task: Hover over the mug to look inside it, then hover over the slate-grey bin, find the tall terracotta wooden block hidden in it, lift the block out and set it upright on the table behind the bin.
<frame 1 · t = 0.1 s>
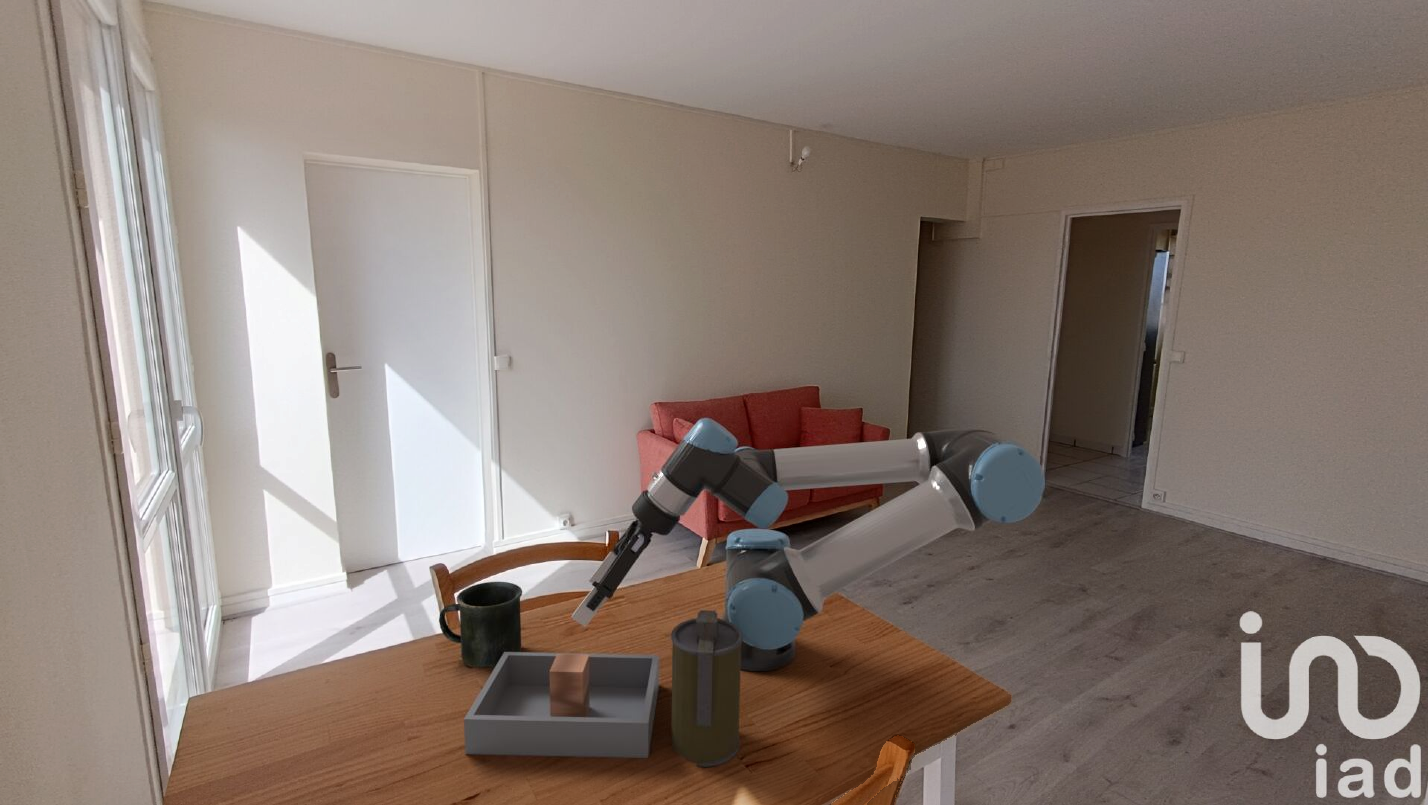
hand: (587, 602, 109), 15 cm above the table, tool tilted 35°, fingers open, 13 cm apart
block: (570, 716, 103), point 1 cm above the table, touching bin
mug: (482, 656, 121), on the table
canister: (704, 745, 98), on the table
bin: (570, 719, 103), on the table
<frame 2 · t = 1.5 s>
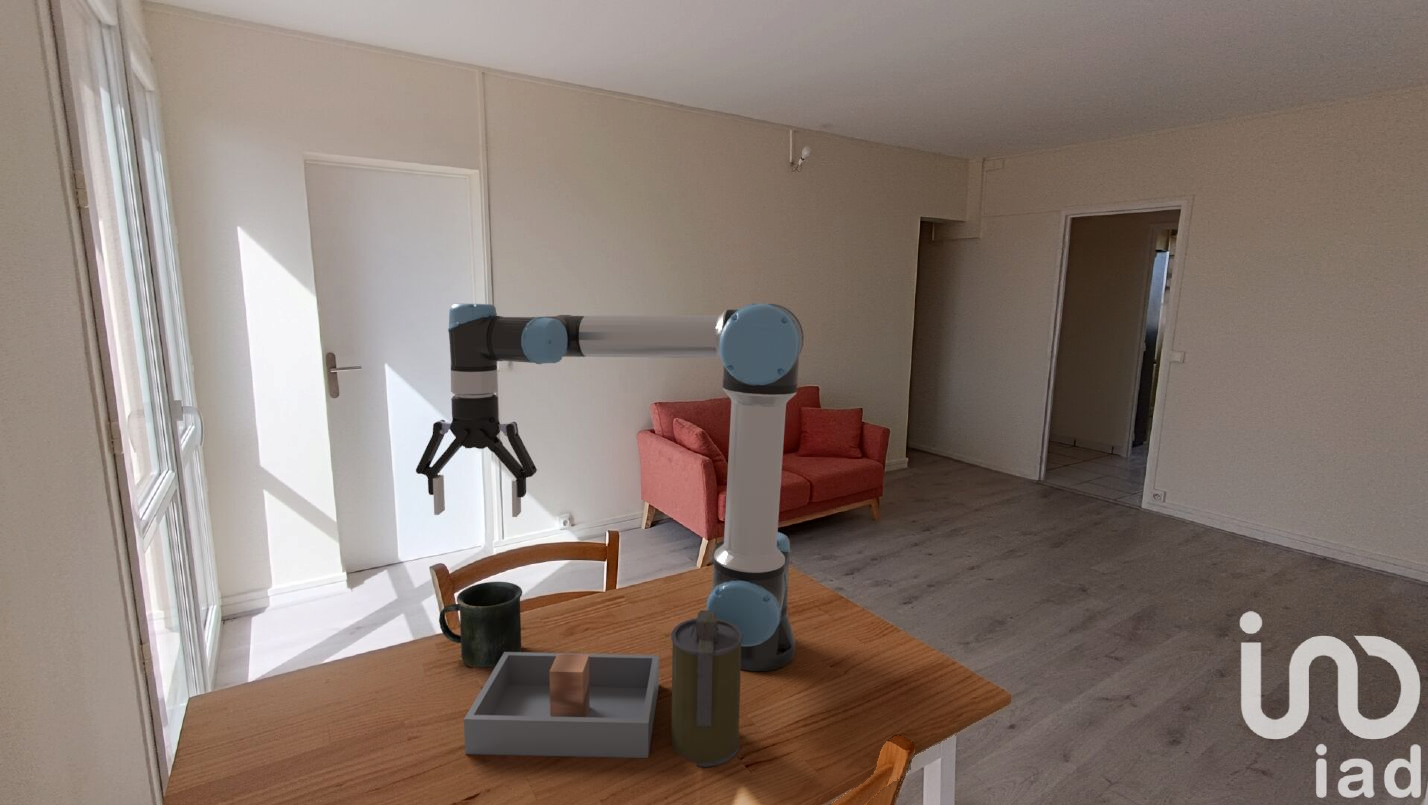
hand: (478, 513, 116), 27 cm above the table, tool pointing down, fingers open, 13 cm apart
nothing on the table moved.
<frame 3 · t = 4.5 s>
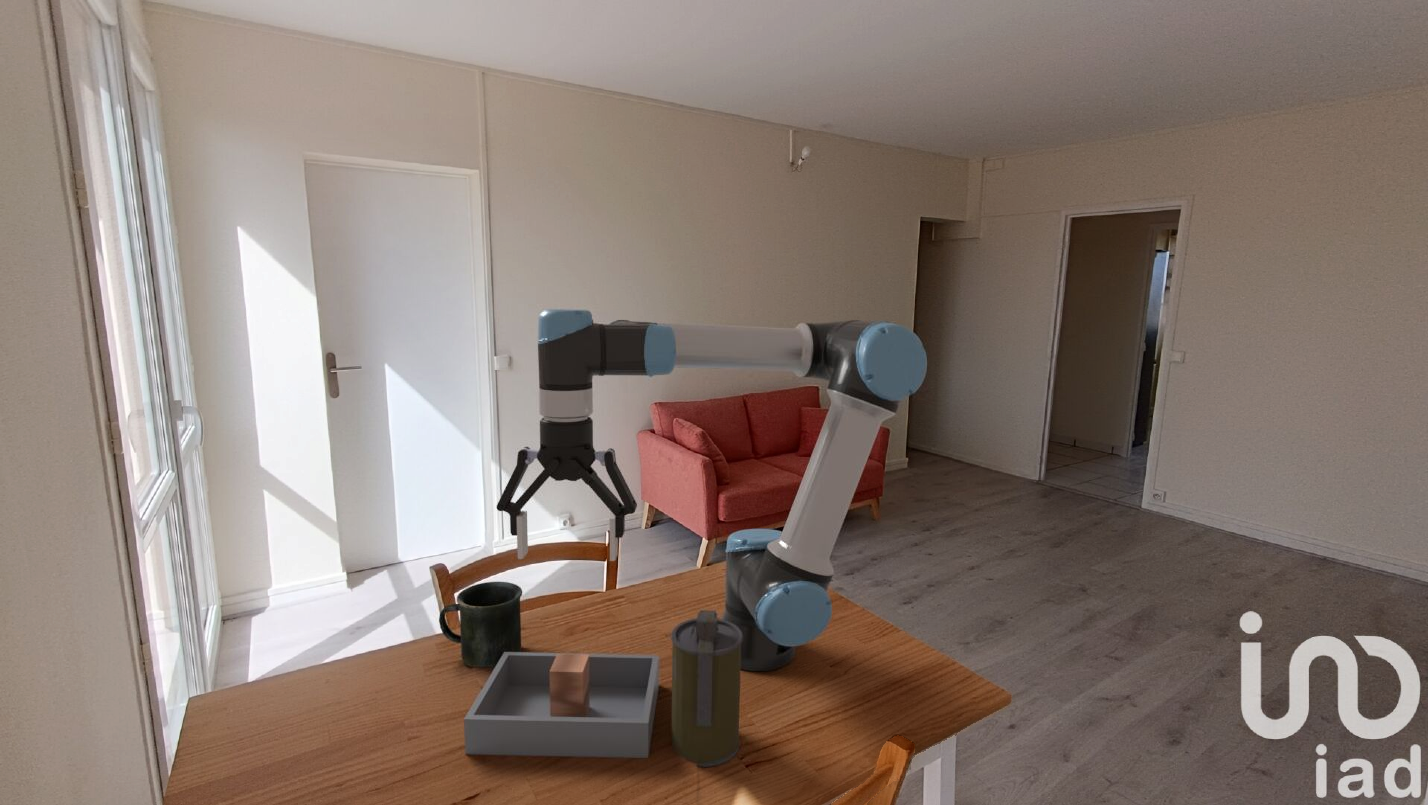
hand: (568, 556, 99), 27 cm above the table, tool pointing down, fingers open, 13 cm apart
nothing on the table moved.
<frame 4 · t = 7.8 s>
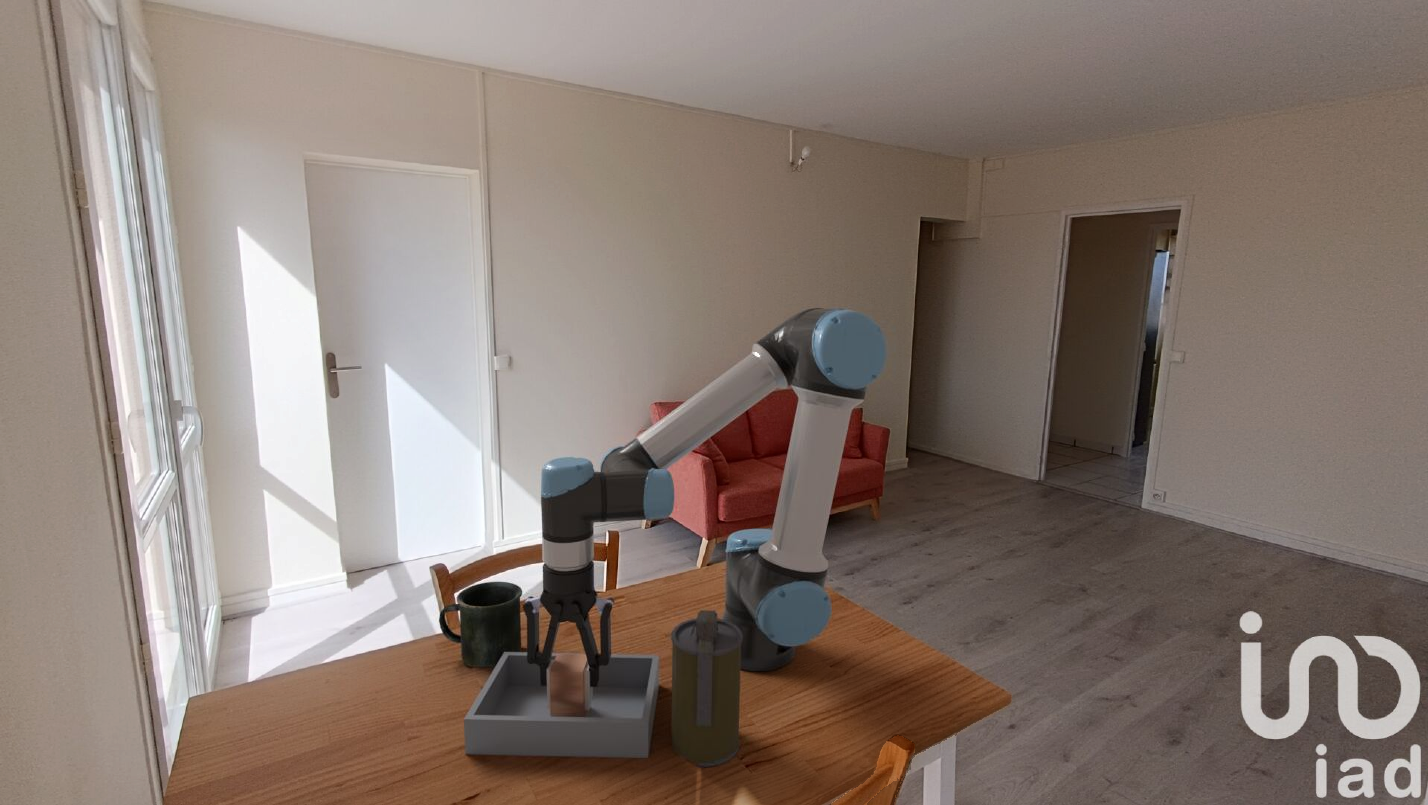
hand: (570, 703, 102), 3 cm above the table, tool pointing down, fingers closed on block, 5 cm apart
block: (570, 716, 103), point 1 cm above the table, touching bin, gripper
everything else where it was.
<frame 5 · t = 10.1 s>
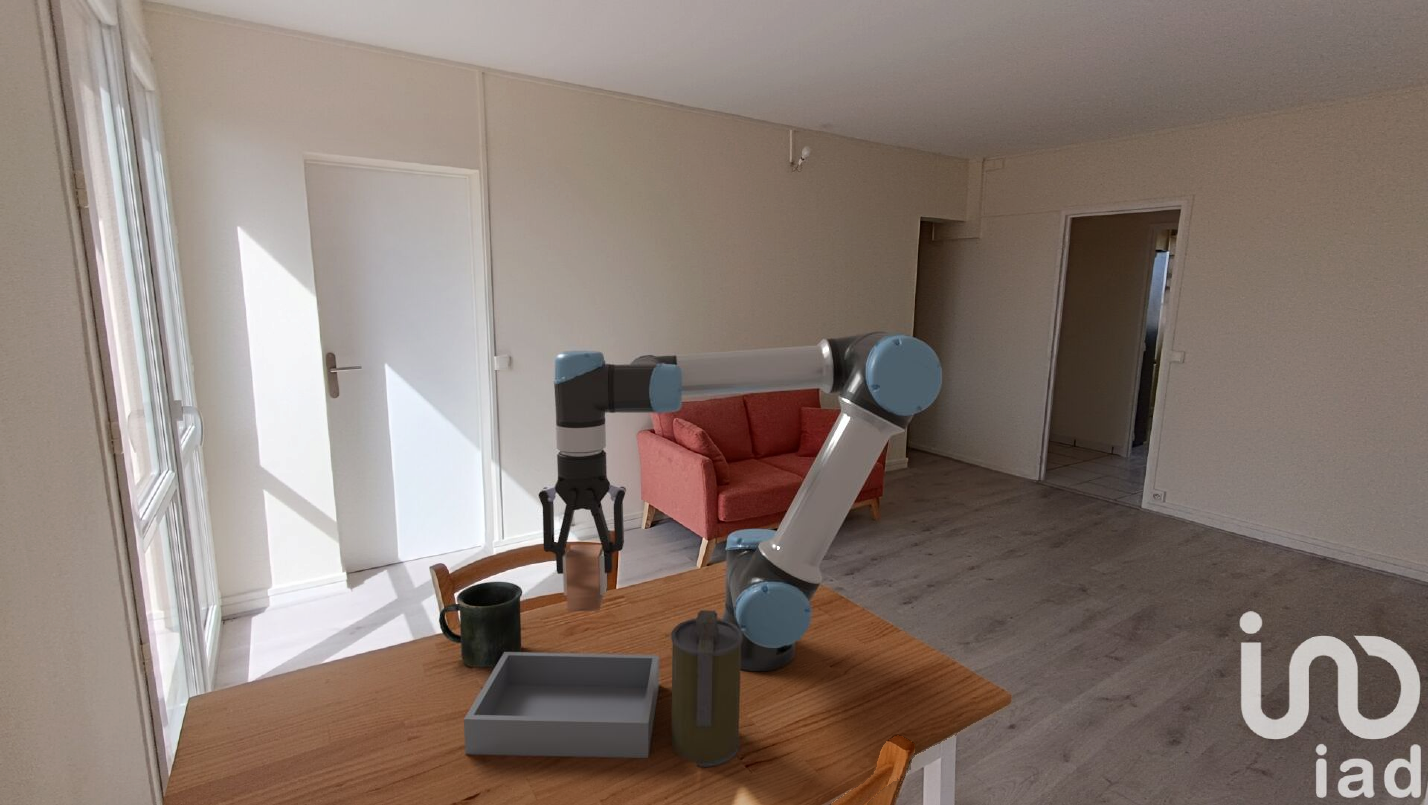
hand: (585, 591, 106), 18 cm above the table, tool pointing down, fingers closed on block, 5 cm apart
block: (585, 603, 107), point 16 cm above the table, touching gripper
everything else where it was.
when the fingers open (4 cm above the table, at t = 12.8 s): block drops 2 cm, on the table.
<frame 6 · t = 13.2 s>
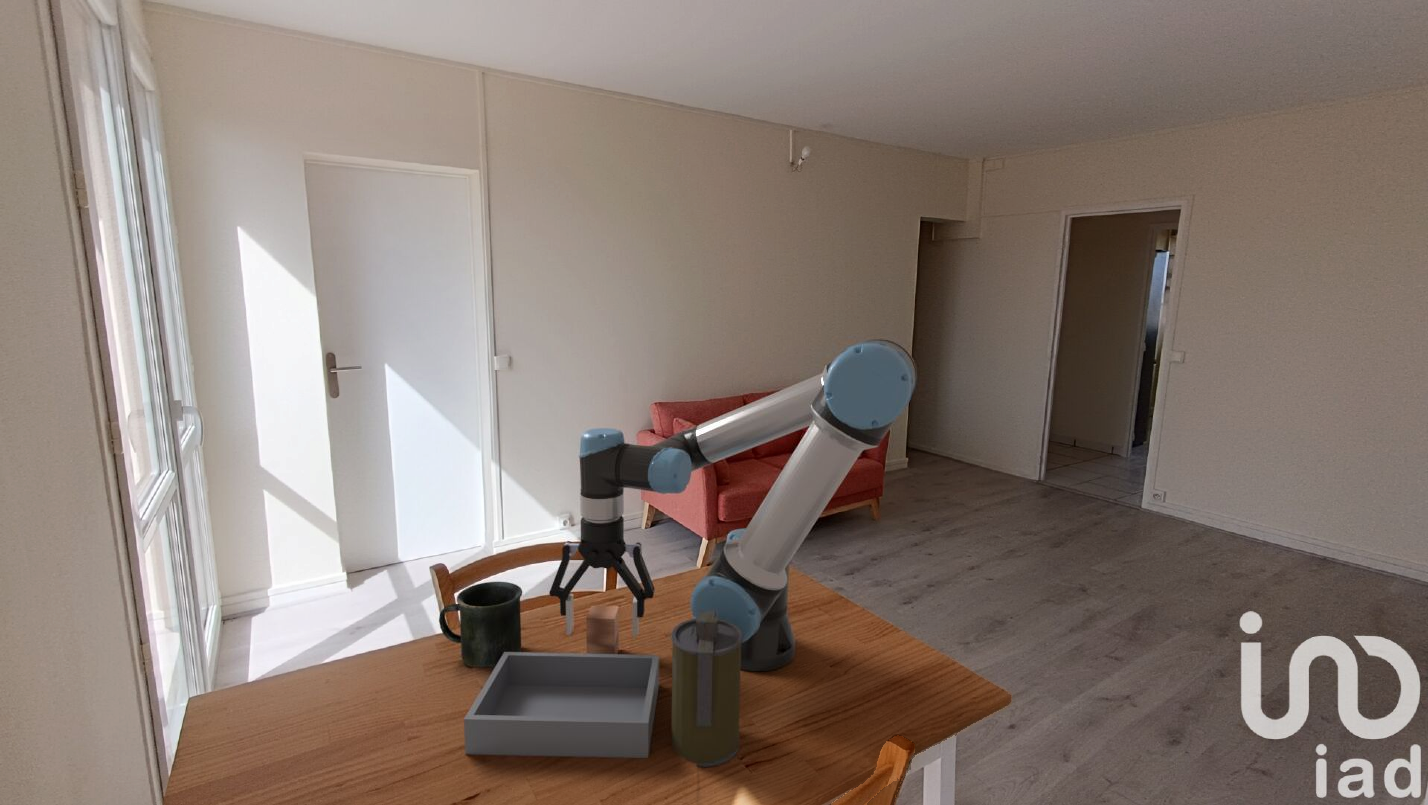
hand: (602, 632, 120), 5 cm above the table, tool pointing down, fingers open, 11 cm apart
block: (603, 658, 121), on the table
everything else where it was.
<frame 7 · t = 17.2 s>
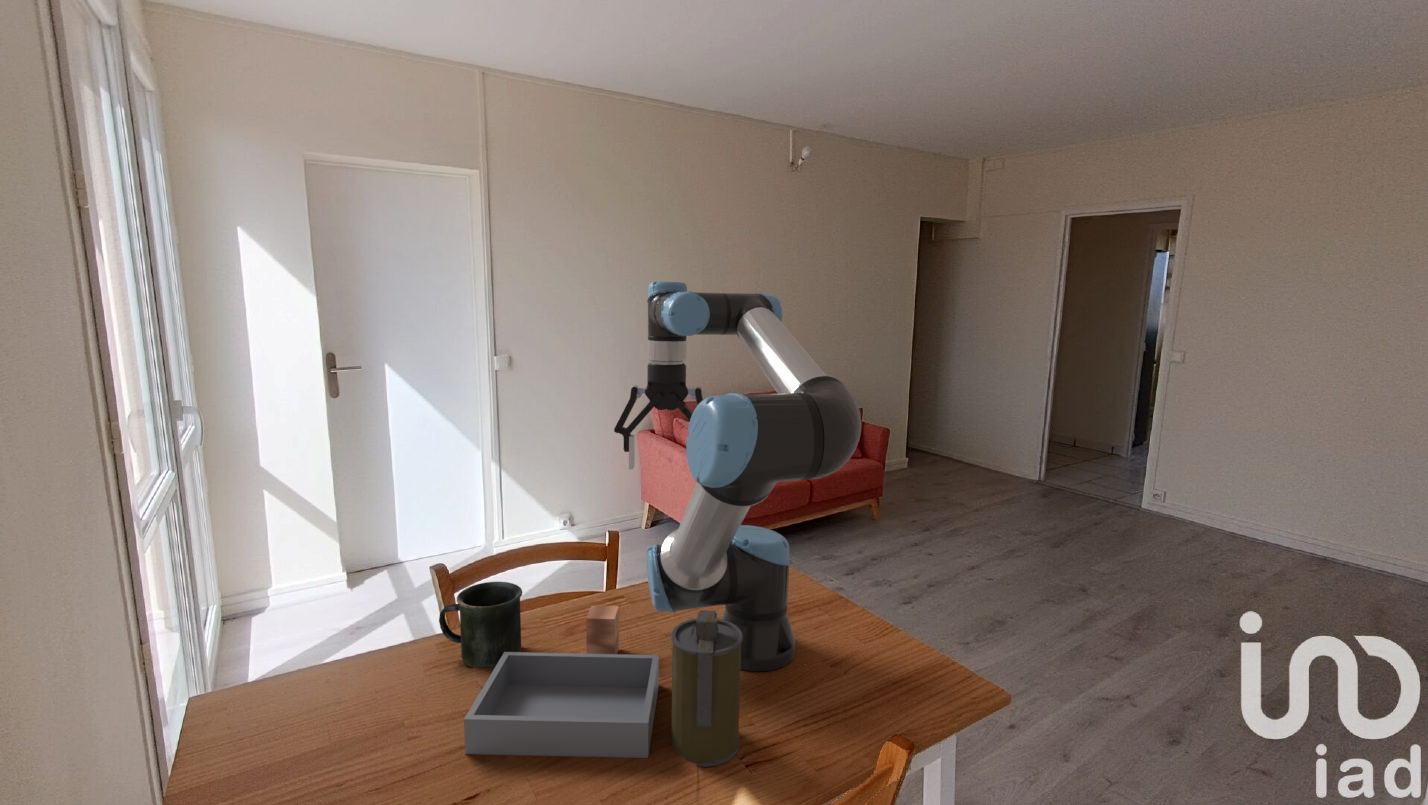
hand: (665, 468, 132), 32 cm above the table, tool pointing down, fingers open, 13 cm apart
nothing on the table moved.
at the end: block inside the target area (0.5 cm from its centre), on the table; block tilted 0°; the gripper is holding nothing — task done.
